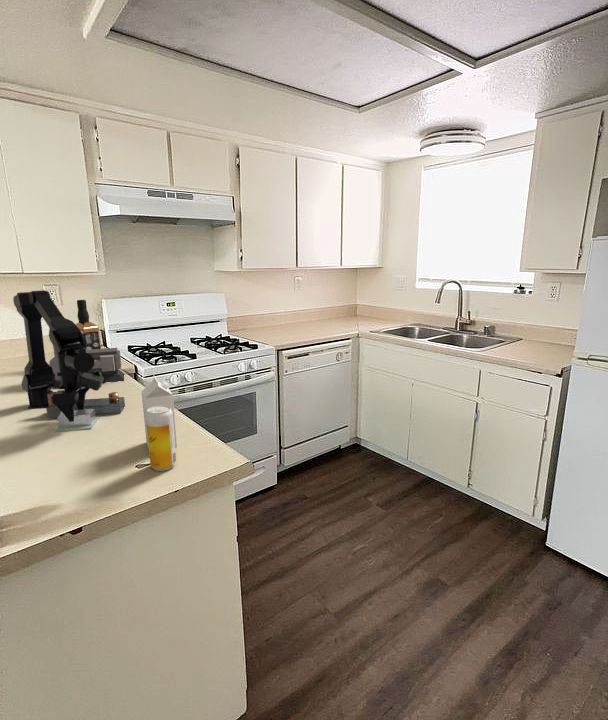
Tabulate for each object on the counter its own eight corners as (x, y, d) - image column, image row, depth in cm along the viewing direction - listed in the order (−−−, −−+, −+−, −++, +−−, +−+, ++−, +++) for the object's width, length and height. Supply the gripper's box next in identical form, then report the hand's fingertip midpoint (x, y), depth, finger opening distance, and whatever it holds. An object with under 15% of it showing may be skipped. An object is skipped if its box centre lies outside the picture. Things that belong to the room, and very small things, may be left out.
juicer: (41, 390, 161) (31, 329, 155) (49, 380, 175) (40, 323, 170) (124, 382, 172) (118, 324, 166) (125, 373, 186) (119, 319, 180)
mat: (54, 432, 122) (54, 430, 122) (65, 420, 131) (64, 419, 131) (91, 429, 124) (91, 427, 124) (99, 418, 133) (98, 416, 133)
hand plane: (47, 418, 132) (44, 396, 131) (55, 411, 139) (52, 390, 137) (120, 413, 137) (118, 392, 135) (125, 406, 144) (122, 385, 142)
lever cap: (59, 427, 124) (57, 414, 123) (64, 421, 129) (62, 408, 128) (91, 425, 126) (89, 412, 125) (95, 419, 131) (94, 406, 130)
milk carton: (149, 452, 109) (143, 384, 105) (146, 442, 116) (139, 377, 111) (177, 446, 113) (171, 380, 108) (172, 437, 119) (167, 373, 114)
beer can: (154, 460, 105) (149, 405, 101) (178, 459, 105) (174, 404, 102) (147, 472, 99) (141, 414, 95) (173, 471, 99) (168, 413, 96)
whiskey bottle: (105, 367, 196) (97, 299, 188) (85, 371, 188) (76, 301, 180) (93, 364, 201) (85, 298, 194) (73, 368, 193) (63, 300, 186)
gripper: (90, 373, 116) (96, 425, 120) (106, 358, 134) (111, 403, 137) (46, 375, 114) (54, 428, 117) (69, 360, 131) (75, 406, 135)
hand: (76, 415), depth 127 cm, fingers open, 9 cm apart
